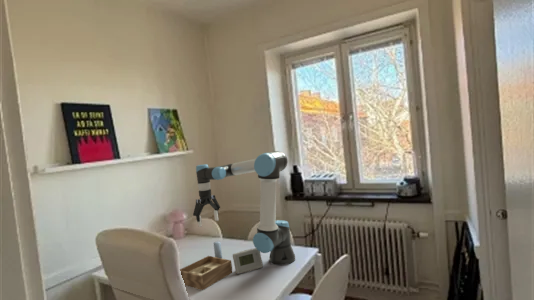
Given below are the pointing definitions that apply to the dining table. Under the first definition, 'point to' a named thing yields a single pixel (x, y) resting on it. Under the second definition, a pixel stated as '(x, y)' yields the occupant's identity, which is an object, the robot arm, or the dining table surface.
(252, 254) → the digital clock
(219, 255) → the dowel
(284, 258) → the robot arm
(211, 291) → the dining table surface
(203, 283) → the open box
